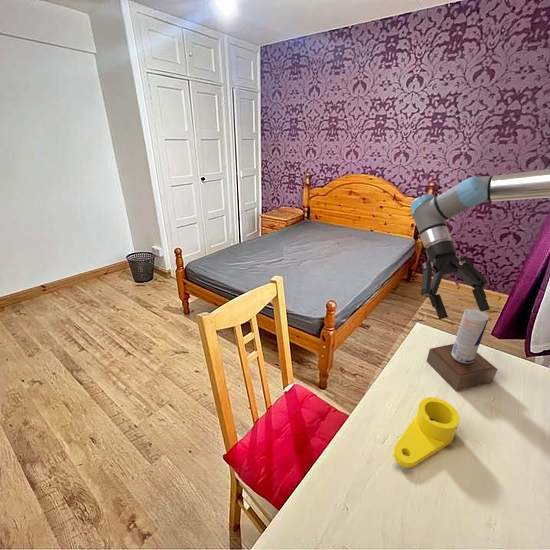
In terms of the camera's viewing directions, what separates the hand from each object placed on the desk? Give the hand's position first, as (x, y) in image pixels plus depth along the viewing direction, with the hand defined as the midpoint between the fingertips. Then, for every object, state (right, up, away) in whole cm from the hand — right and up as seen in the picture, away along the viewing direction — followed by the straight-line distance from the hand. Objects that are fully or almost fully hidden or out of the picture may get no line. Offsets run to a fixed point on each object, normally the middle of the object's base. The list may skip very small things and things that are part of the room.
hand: (464, 314), depth 84 cm
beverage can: (+1, -13, +3) cm, 13 cm away
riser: (+1, -17, +5) cm, 18 cm away
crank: (-18, -28, -13) cm, 36 cm away
